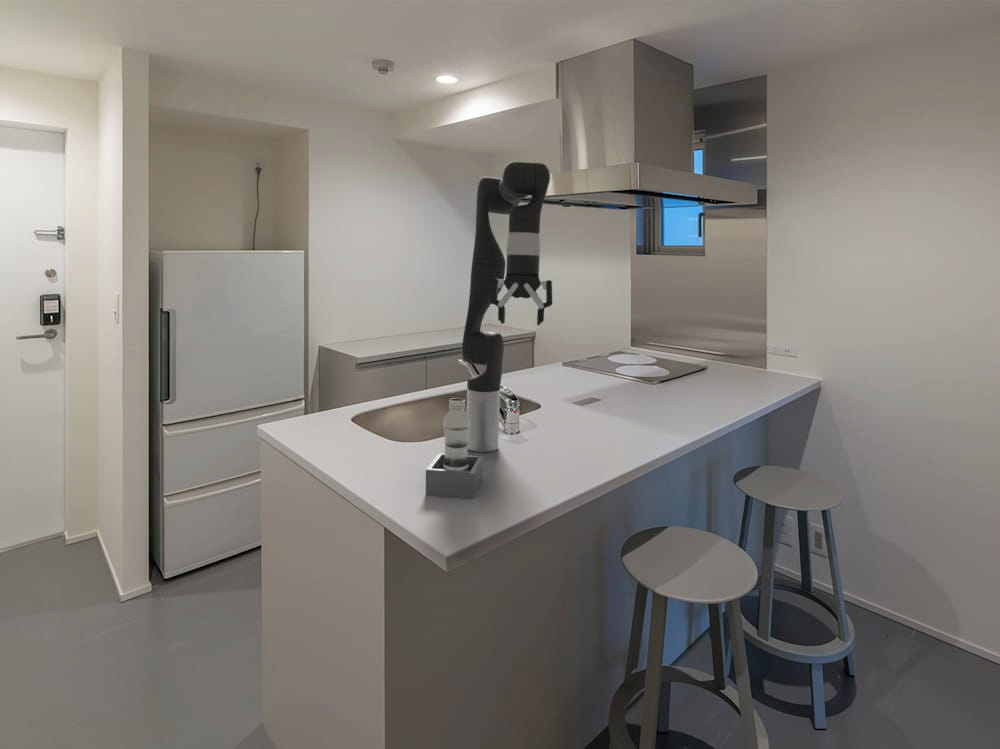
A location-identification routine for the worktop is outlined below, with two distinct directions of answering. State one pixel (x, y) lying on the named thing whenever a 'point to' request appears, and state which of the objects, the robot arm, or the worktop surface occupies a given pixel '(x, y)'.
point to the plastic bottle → (456, 436)
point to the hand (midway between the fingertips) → (520, 324)
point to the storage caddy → (454, 478)
